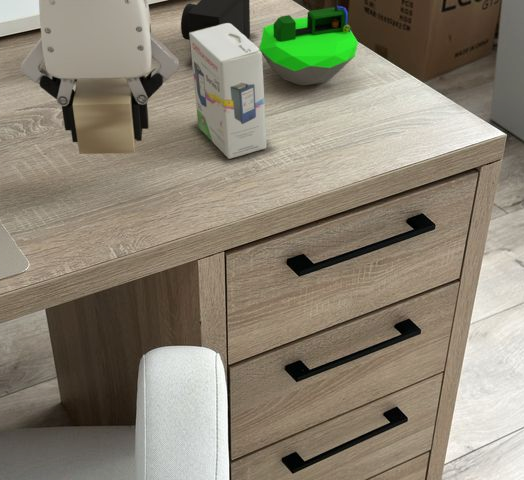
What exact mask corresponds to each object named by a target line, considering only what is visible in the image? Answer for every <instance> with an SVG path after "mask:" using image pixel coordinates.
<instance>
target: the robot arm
mask: <svg viewBox="0 0 524 480" xmlns="http://www.w3.org/2000/svg"><path fill="white" fill-rule="evenodd" d="M38 9H39V10H38V11H39V25H40V35H41V37H40V38H39V39H38V41H37V42H36V43H35V44H34V46H33V47H32V48H31V50H30V51H29V52H28V54H26V56H25V57H24V59H23V60H22V62H21V65H20V72H21V73H22V74H23V75H24V76H26V78H28V79H30V80H32V82H34V83H37V84H38V85H39V86H40V88H41V89H42V90H43V91H45V92H46V93H47V94H49V95H50V96H51V97H53V98H54V99H55V100H56V102H57V104H58V105H59V106H61V110H62V112H61V113H62V118H63V124H64V130H65V131H70V132H71V140H72V143H78V140H77V133H76V126H75V119H74V112H73V99H74V94H75V90H74V89H73V88H74V86H75V85H74V84H75V82H76V81H75V79H122V78H125V79H126V81H127V83H128V85H129V87H130V89H131V91H132V93H133V97H132V116H133V127H134V138H135V140H136V142H142V139H143V130H148V129H149V111H148V102H149V99H150V98H151V97H153V95H155V93H156V92H157V91H158V90H159V89H160V88H161V87H162V85H163V83H165V82H166V81H167V80H169V79H170V78H172V76H173V75H174V74H175V73H177V72H178V70H179V68H180V61H179V58H178V57H176V55H175V54H174V53H173V52H171V51H170V49H169V48H168V47H167V46H166V45H164V43H163V42H162V41H160V40H159V38H157V37H156V35H154V33H153V32H152V22H151V14H150V13H151V12H150V7H149V0H38ZM152 58H153V59H154V60H155V61H156V62H157V63H158V64H159V65H157V67H156V68H153V69H152ZM42 62H43V63H44V67H43V66H42V65H41V64H42ZM151 69H152V70H151Z"/></svg>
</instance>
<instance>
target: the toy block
mask: <svg viewBox="0 0 524 480" xmlns="http://www.w3.org/2000/svg"><path fill="white" fill-rule="evenodd" d="M74 89H75V90H74V91H75V94H74V99H73V112H74V119H75V126H76V133H77V140H78V142H77V147H78V153H79V155H95V154H96V155H98V154H103V155H105V154H134V153H135V152H136V142H137V141H136V140H135V138H134V127H133V116H132V97H133V93H132V91H131V89H130V87H129V85H128V83H127V81H126V79H125V78H122V79H77V81H76V84H75V88H74Z"/></svg>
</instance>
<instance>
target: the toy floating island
mask: <svg viewBox="0 0 524 480" xmlns="http://www.w3.org/2000/svg"><path fill="white" fill-rule="evenodd" d="M348 20H349V12H348V10H347V8H346V7H344V6H341V5H339V0H334V6H333V7H327V8H326V7H325V8H320V9H313V10H308V12H307V16H306V17H300V18H299V17H298V18H293V17H292V16H291V15H290V14H288V15H281V16H280V17H278V18H277V19H276V20H275V21H274V23H272V24H269V25H265V26H263V30H262V35H261V40H260V44H259V51H260V52H262V57H263V58H264V59H265V61H266V62H267V64H268V66H269V68H271V69H272V70H273V71H274V72H275V73H277V75H279V76H280V77H281V78H282V79H283V80H285V81H288V82H290V83H293V84H295V85H298V86H309V85H310V86H311V85H316V84H317V85H318V84H324V83H328V82H329V81H330V80H331V79H333V78H334V77H335V76H336V75H337V74H338V73H339V72H340V71H342V69H343V68H344V67H345V66H346V65H348V63H349V62H350V61H352V60H353V58H354V57H356V52H357V49H358V45H359V42H358V40H357V38H356V36H355V35H354V34H353V31H352V27H351V26H350V25H349V24H348V22H349V21H348Z"/></svg>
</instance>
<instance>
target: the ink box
mask: <svg viewBox="0 0 524 480" xmlns="http://www.w3.org/2000/svg"><path fill="white" fill-rule="evenodd" d="M189 35H190V40H189V46H190V45H191V53H190V57H191V56H192V64H191V67H192V75H193V85H194V87H193V88H194V96H195V98H194V99H195V107H196V115H197V117H196V118H197V128H198V129H199V131H201V132H202V133H203V134H204V135H205V136H206V137H207V138H208V139H209V140H210V141H211V142H212V144H214V145H215V146H216V147H217V148H218V149H219V150H220V152H222V154H223V155H224V156H225V157H226V158H227V159H228V160H230V159H233V158H237V157H241V156H244V155H247V154H251V153H255V152H258V151H261V150H265V149H267V130H266V109H265V88H264V87H265V86H264V85H265V84H264V66H263V65H264V64H263V54H262V52H261V51H260V47H258V46H257V45H256V44H255V43H254V42H252V41H251V40H250V38H249V39H247V38H246V36H245V35H243V34H242V33H241V32H240V31H239V30H238V29H236V28H235V27H234V26H233V25H232V24H230V23H225V24H221V25H218V26H214V27H210V28H206V29H202V30H198V31H194V32H190V33H189Z"/></svg>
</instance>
